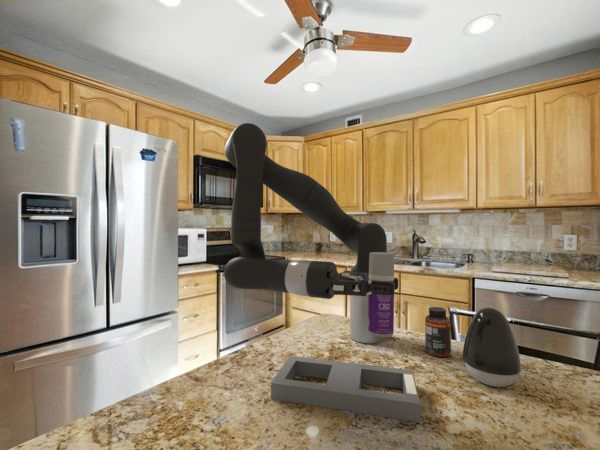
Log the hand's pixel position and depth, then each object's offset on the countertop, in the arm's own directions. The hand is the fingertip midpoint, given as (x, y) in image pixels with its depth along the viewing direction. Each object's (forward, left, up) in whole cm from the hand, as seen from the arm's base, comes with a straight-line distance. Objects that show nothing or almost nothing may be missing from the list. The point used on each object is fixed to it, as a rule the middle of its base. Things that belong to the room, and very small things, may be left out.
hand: (395, 286), depth 55 cm
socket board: (0, -10, -21) cm, 23 cm away
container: (0, -3, -9) cm, 10 cm away
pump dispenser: (-12, +19, -21) cm, 31 cm away
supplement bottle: (-24, +11, -21) cm, 34 cm away
